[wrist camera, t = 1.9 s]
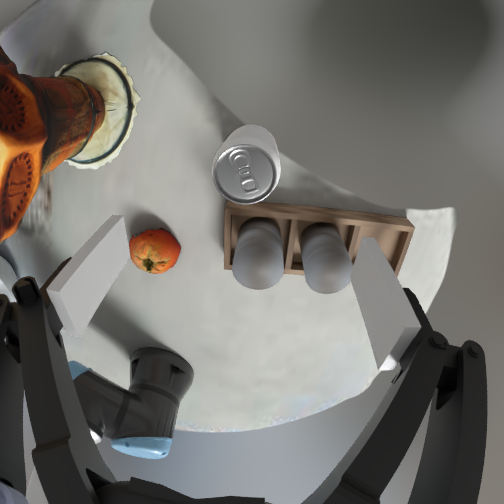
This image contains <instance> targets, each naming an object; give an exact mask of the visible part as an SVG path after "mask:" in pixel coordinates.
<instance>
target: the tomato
mask: <svg viewBox="0 0 504 504" xmlns="http://www.w3.org/2000/svg"><path fill="white" fill-rule="evenodd" d="M136 235H137V234H136ZM132 238H134V235H133V236H132ZM129 248H130V256H131V259H132V261H133V263H134V264H135V265H136V266H137V267H138V268H139V269H142V270H144V271H146V272H149V273H153V274H158V273H163V272H165V271H167V270H168V269H169V268H171V267H173V266H174V264H175V263H176V261H177V259H178V257H179V254H180V251H181V247H180V245H179V244H178V242H177V241H176V239H175V238H174V237H173V236H172V235H171V234H170V232H168V231H166V230H164V229H162V228H161V229H159V230H147V231H145V232H143V233H141V235H139V236H137V237H135V238H134V239H130V241H129Z"/></svg>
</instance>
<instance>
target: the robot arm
mask: <svg viewBox="0 0 504 504" xmlns="http://www.w3.org/2000/svg"><path fill="white" fill-rule="evenodd" d="M129 258H130V252H129V247H128V241H127V235H126V228H125V222H124V216H117V215H112V216H111V217H110V218H109V219H108V220H107V221H106V222H105V223H104V224H103V225H102V226H101V227H100V228H99V229H98V230H97V231H96V232H95V233H94V235H93V236H92V237H91V238H90V239H89V240H88V241H87V242H86V243H85V244H84V245H83V246H82V247H81V249H80V250H79V251H78V252H77V253H76V254H75V255H74V256H73V258H72V257H70V258H68V259H67V260H65V261H64V262H62V263H61V265H60V266H59V267H58V268H57V270H55V272H54V273H53V275H51V276H50V278H49V279H48V280H47V281H46V282H45V284H44V285H43V286H42V287H41V289H40V290H39V287H38V285H37V283H36V280H35V278H33V277H30V276H27V277H23V278H21V279H19V280H18V281H17V282H15V284H14V285H13V286H12V293H13V295H14V297H15V299H16V301H17V302H10V300H9V298H8V296H7V295H5V294H0V504H271V503H268V502H265V498H254V497H253V498H252V497H238V496H226V497H216V498H204V499H194V498H190V497H188V496H186V495H183V494H181V493H179V492H176V491H174V490H172V489H170V488H167V487H165V486H163V485H161V484H156V483H153V482H149V481H145V480H141V479H138V478H134V477H131V479H130V481H119V482H117V480H116V479H115V477H114V475H113V474H112V472H111V471H110V469H109V468H108V467H107V466H106V464H105V463H104V461H103V459H102V457H101V455H100V453H99V451H98V449H97V446H96V443H99V442H101V440H102V436H106V437H108V438H110V439H111V446H112V447H113V448H114V449H116V450H118V451H120V452H122V453H126V454H129V455H133V456H137V457H142V458H150V459H159V458H163V457H165V456H167V454H168V453H169V449H170V445H171V442H172V441H173V439H172V438H173V433H174V428H175V423H176V418H177V413H178V408H179V404H180V401H181V400H182V398H183V397H184V395H185V394H186V392H187V391H188V389H189V388H190V386H191V384H192V381H193V377H194V372H193V369H192V368H191V366H190V365H189V364H188V363H187V362H186V361H185V360H183V359H182V358H181V357H179V356H177V355H175V354H173V353H171V352H168V351H165V350H161V349H157V348H142V349H139V350H137V351H136V352H135V353H134V354H133V357H132V359H131V362H130V387H129V390H126V389H124V388H122V387H120V386H119V385H117V384H115V383H113V382H111V381H110V380H108V379H106V378H104V377H103V376H101V375H99V374H98V373H96V372H94V371H93V370H92V369H91V368H87V367H86V366H84V365H82V364H80V363H79V362H77V361H70V362H68V361H67V357H66V352H65V348H64V344H63V339H62V336H61V334H60V330H61V329H62V327H64V329H65V331H66V333H67V335H69V336H72V337H76V338H81V336H82V334H83V332H84V331H85V329H86V327H87V325H88V324H89V322H90V320H91V318H92V317H93V315H94V313H95V312H96V310H97V308H98V307H99V305H100V303H101V302H102V300H103V298H104V297H105V295H106V294H107V292H108V290H109V289H110V287H111V286H112V284H113V283H114V281H115V279H116V278H117V276H118V275H119V273H120V272H121V270H122V269H123V267H124V266H125V264H126V263H127V261H128V260H129ZM350 279H351V282H352V285H353V288H354V291H355V294H356V297H357V300H358V303H359V306H360V309H361V313H362V316H363V319H364V322H365V325H366V329H367V332H368V335H369V339H370V342H371V346H372V349H373V353H374V356H375V360H376V364H377V368H378V371H380V370H393V369H394V368H395V366H396V365H397V364H398V362H400V365H401V370H400V371H399V372H398V374H397V375H396V376H395V378H394V379H393V380H392V385H391V387H390V388H389V390H388V392H387V394H386V395H385V397H384V399H383V400H382V402H381V404H380V405H379V407H378V408H377V410H376V412H375V413H374V415H373V417H372V418H371V419H370V421H369V422H368V424H367V425H366V427H365V428H364V430H363V431H362V433H361V434H360V436H359V437H358V438H357V440H356V441H355V443H354V444H353V446H352V447H351V448H350V449H349V451H348V452H347V453H346V455H345V456H344V457H343V459H342V460H341V461H340V463H339V464H338V465H337V466H336V468H335V469H334V470H333V471H332V472H331V473H330V475H329V476H328V477H327V478H326V480H325V481H324V482H323V483H322V484H321V486H319V488H318V489H317V490H316V491H315V492H314V493H313V494H311V495H310V496H309V497H308V498H307V499H306V500H305V501H304V502H303V503H302V504H380V500H379V498H380V495H381V494H382V492H383V491H384V489H385V488H386V486H387V485H388V483H389V481H390V480H391V478H392V477H393V475H394V473H395V471H396V470H397V468H398V466H399V465H400V463H401V461H402V459H403V458H404V456H405V454H406V452H407V450H408V448H409V447H410V444H411V443H412V441H413V439H414V437H415V435H416V433H417V431H418V428H419V426H420V424H421V422H422V420H423V418H424V415H425V413H426V411H427V409H428V406H429V404H430V401H431V399H432V403H431V410H430V416H429V423H428V428H427V433H426V438H425V443H424V448H423V452H422V457H421V460H420V465H419V468H418V472H417V475H416V479H415V482H414V486H413V489H412V492H411V495H410V498H409V501H408V504H477V499H478V495H479V490H480V485H481V479H482V472H483V466H484V457H485V448H486V434H487V379H486V364H485V354H484V351H483V349H482V347H481V346H480V345H479V344H478V343H476V342H474V341H471V340H468V341H465V343H464V344H463V345H462V346H461V347H457V346H453V345H449V343H448V341H447V339H446V338H445V337H444V336H443V335H442V334H440V333H439V332H436V331H433V329H432V327H431V325H430V323H429V321H428V319H427V317H426V315H425V313H424V311H423V310H422V307H421V305H420V304H419V301H418V299H417V297H416V295H415V294H414V293H413V292H412V291H411V290H410V289H409V288H402V286H401V284H400V283H399V281H398V279H397V277H396V275H395V273H394V271H393V269H392V268H391V266H390V264H389V262H388V260H387V259H386V257H385V255H384V253H383V251H382V250H381V248H380V246H379V245H378V243H377V241H376V239H375V238H371V237H362V239H361V242H360V246H359V249H358V253H357V256H356V259H355V262H354V265H353V269H352V272H351V275H350ZM4 339H6V342H5V341H4ZM24 390H25V396H26V402H27V407H28V412H29V417H30V421H31V426H32V430H33V434H34V438H35V442H36V448H35V449H33V450H32V458H33V462H34V465H35V466H34V469H33V472H32V475H31V479H30V482H29V485H28V488H27V492H26V473H25V462H24V447H23V397H24Z"/></svg>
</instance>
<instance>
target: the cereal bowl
mask: <svg viewBox="0 0 504 504" xmlns="http://www.w3.org/2000/svg"><path fill="white" fill-rule="evenodd" d="M17 281H18V279H17V277H16V274H15V272H14V270H13V268H12V266H11V265H10V264H9V263H8V261H6V260H5V259H4V258H2V257H1V256H0V294H5V295H7V296H8V298H9V300H10V302H17V301H16V299H15V297H14V295H13V293H12V286H13V285H14V284H15V282H17Z"/></svg>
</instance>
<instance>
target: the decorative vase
mask: <svg viewBox="0 0 504 504" xmlns="http://www.w3.org/2000/svg"><path fill="white" fill-rule="evenodd" d="M53 76H54V75H53ZM55 76H56V77H52V76H51V77H52V78H51V77H50V78H47V77H32V76H29V75H26V74H19V73H18V71H17V67H16V65H15V63H14V62H13V61H11V60H10V59H9V57H8V56H7V55H6V54H5V52H4V51H3V49H2V47H1V46H0V245H1V244H2V243H3V242H5V240H6V239H7V238H9V237H10V236H11V235H13V234H14V233H15V232H16V231H17V230H18V228H19V227H20V225H21V224H22V218H23V216H24V214H25V212H26V210H27V208H28V206H29V204H30V202H31V200H32V199H33V197H34V195H35V193H36V190H37V188H38V186H39V183H40V179H41V176H42V175H43V174H45V173H47V172H49V171H52V170H53V169H54V168H56V167H57V166H58V165H59V164H60V163H62V162H66V161H68V163H69V165H75V166H76V167H77V168H78V169H86V168H91V169H94V170H97V169H98V168H99V167H100V166H103V165H105V164H106V162H110V163H111V160H112V159H113V158H115V157H117V156H118V154H119V152H120V150H121V148H122V146H123V144H124V143H125V142H126V140H127V139H128V138H129V135H130V132H131V130H132V127H133V125H134V121H133V118H134V117H135V116H136V115H137V112H136V110H135V109H136V105H137V102H138V101H140V100H141V98H140V97H139V95H138V94H137V92H136V91H135V90H134V89H133V88H132V86H133V80H132V78H131V77H130V76H129V75H128V74H127V69H126V67H121V63H120V62H119V61H118V60H117V59H116V58H115V57H113V56H110V55H109V54H108V53H104V54H103V55H99V54H98V55H95V56H93V57H91V58H89V59H87V60H77V61H75V62H73V63H70V64H68V65H63V66H62V68H61V69H60V70H59V71H58V72H57V71H56V72H55Z"/></svg>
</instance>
